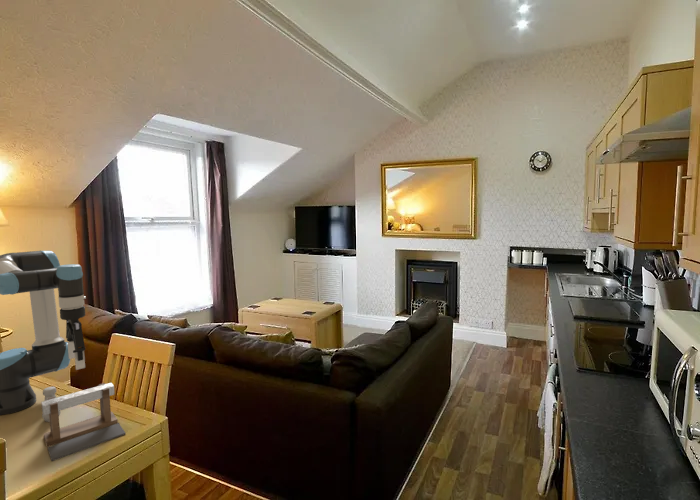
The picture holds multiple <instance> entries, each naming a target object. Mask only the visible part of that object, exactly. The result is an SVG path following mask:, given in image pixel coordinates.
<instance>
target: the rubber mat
mask: <svg viewBox="0 0 700 500" xmlns="http://www.w3.org/2000/svg"><path fill="white" fill-rule="evenodd" d="M124 435H127V434H126V432H125V430H124V428H123V427H122V426H121V424H120V422H118V423H116V424H113V425H110V426H107V427H104V428H102V429H99V430H96V431H93V432H90V433H87V434H84V435H81V436H78V437H75V438H72V439H69V440H66V441H63V442H61V443H58V444H55V445H52V446H49V447H47V451H48V453H49V457H50V459H51V462H53V461H56V460H59V459H61V458H64V457H67V456H70V455H73V454H76V453H78V452H81V451H84V450H87V449H89V448H91V447H96V446H98V445H100V444H102V443H105V442H108V441H111V440H113V439H117V438H119V437H122V436H124Z"/></svg>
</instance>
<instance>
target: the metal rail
mask: <svg viewBox="0 0 700 500" xmlns="http://www.w3.org/2000/svg"><path fill="white" fill-rule="evenodd" d="M106 388H109V395H110V396H114V395H115V386H114V384H113V383H112V382H109V383H105V384H104V385H101V386H99V385H97V386H94V387H90V388H87V389H83V390H80V391H79V390H78V391H76V392H72V393H69V394H65V395H61V396H58V397H57V396H56V398H53V399H50V400H46V401H44V400H43V401H41V403H40V404H41V412H42V413H43V415H46V414H50V413H51V409H50V404H53V403H58V411H60V412H61V411H63V410H66V409H70V408H73V407H74V408H75V407H77V406H79V405H84V404H87V403H90V402H94V401H97V400H100V399H101V398H103V391H102V390H103V389H106Z"/></svg>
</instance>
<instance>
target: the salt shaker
mask: <svg viewBox="0 0 700 500" xmlns="http://www.w3.org/2000/svg"><path fill="white" fill-rule="evenodd" d="M56 393H57V388H56V387H55V386H48V387H45V388H44V389H43V390H42V395H43V396H44V400H43V401H46V400H48V398H51V397H55V398H57V396H56ZM58 414H59V416H61V410H60V411H58ZM41 417H42V419H43V420H44V422H46V423H50V420H49V414H46V415H43V412H42V415H41Z"/></svg>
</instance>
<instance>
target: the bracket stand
mask: <svg viewBox="0 0 700 500" xmlns="http://www.w3.org/2000/svg"><path fill="white" fill-rule="evenodd" d="M104 384H106V383H105V382H103V383H99V384H98V386H101V385H104ZM102 391H103V398H101V399H99V409H100V415H97V416H94V417H93V416H92V417H90V418H88V419H85V420H81V421H78V422H75V423H72V424H69V425H66V426H63V427H60V415H59V414H58V403H53V404H50V409H51V413H50V414H49V420H50V422H49V429H50V431H47V432H44V433H43V440H44V443H45V445H46V447H47V448H48V447H50V446H53V445H56V444H59V443H62V442H65V441H68V440H71V439H74V438H76V437H79V436H82V435H85V434H88V433H91V432H94V431H97V430H100V429H103V428H106V427H109V426H112V425H114V424H117V423H119V422H118V421H119V420H118V418H117V417H116V415H115V414H114V412H113V411H112V409H111V397H110V395H109V388H106V389H103V390H102ZM53 398H55V397H51V398H48V400H50V399H53Z"/></svg>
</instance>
